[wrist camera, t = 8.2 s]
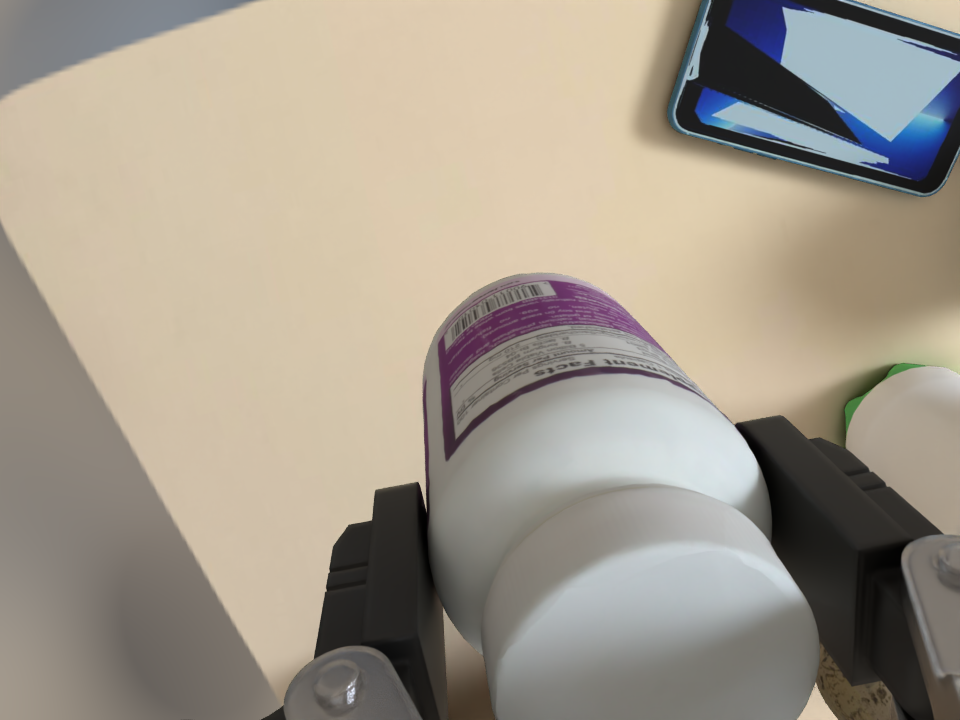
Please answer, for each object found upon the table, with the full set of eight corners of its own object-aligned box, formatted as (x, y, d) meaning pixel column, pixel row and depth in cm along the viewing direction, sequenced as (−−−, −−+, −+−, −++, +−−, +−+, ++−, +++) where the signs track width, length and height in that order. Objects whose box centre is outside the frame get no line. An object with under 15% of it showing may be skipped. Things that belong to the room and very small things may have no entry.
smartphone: (936, 202, 36) (665, 129, 34) (924, 199, 37) (658, 128, 35) (1008, 48, 34) (721, -44, 31) (993, 48, 35) (712, -41, 32)
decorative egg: (809, 597, 47) (906, 728, 37) (893, 604, 47) (1008, 733, 38) (782, 668, 49) (867, 808, 40) (862, 673, 50) (964, 811, 40)
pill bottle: (605, 485, 19) (780, 863, 10) (402, 452, 18) (392, 835, 9) (671, 289, 17) (961, 534, 8) (448, 241, 16) (494, 458, 7)
